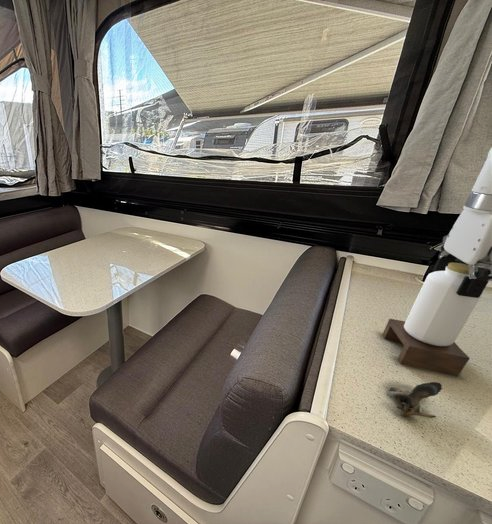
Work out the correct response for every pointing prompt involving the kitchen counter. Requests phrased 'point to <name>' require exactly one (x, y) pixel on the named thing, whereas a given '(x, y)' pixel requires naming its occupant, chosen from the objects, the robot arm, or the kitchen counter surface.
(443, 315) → the potion bottle
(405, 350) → the shelf
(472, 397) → the kitchen counter surface
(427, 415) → the eagle figurine
